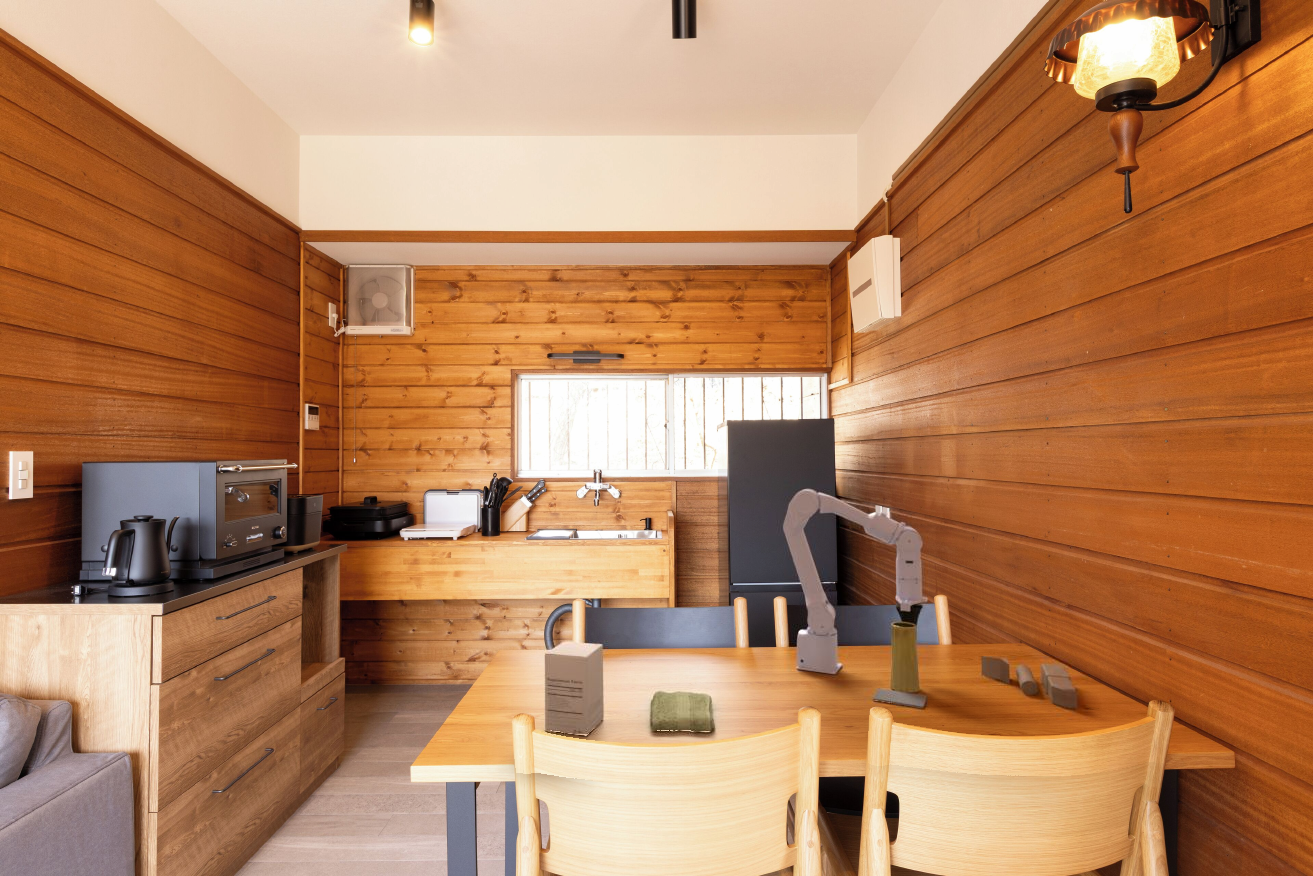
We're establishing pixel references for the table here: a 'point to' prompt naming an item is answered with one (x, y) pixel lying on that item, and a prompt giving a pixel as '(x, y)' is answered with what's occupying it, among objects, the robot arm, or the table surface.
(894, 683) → the vase
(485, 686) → the table surface
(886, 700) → the mat
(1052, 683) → the wooden block set
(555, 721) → the supplement box
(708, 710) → the washcloth
